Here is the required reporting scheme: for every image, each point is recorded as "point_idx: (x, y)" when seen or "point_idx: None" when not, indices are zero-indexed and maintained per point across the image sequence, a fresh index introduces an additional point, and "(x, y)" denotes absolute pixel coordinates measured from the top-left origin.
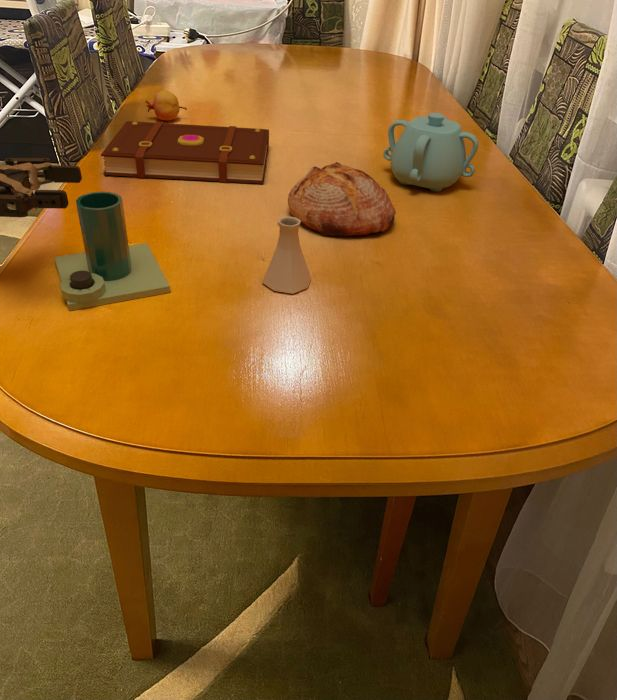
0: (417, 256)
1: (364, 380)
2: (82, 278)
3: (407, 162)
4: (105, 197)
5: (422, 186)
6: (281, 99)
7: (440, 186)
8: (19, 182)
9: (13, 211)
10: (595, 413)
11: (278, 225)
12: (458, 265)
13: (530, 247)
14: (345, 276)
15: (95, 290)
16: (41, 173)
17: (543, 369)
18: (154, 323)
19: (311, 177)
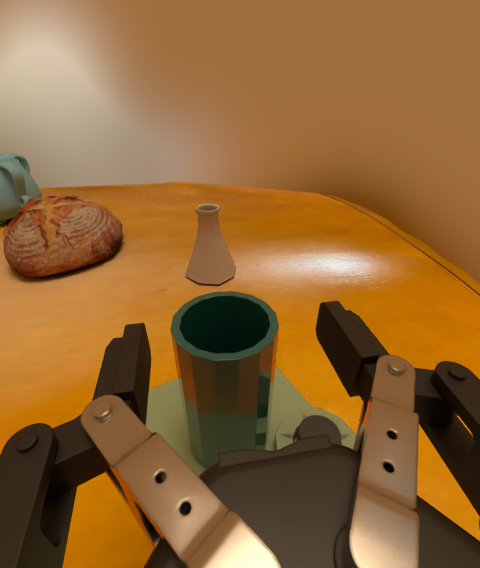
0: (159, 222)
1: (334, 239)
2: (328, 426)
3: (6, 196)
4: (181, 331)
5: None
6: None
7: None
8: (375, 400)
9: (454, 440)
10: (313, 194)
11: (212, 214)
12: (174, 211)
13: (148, 193)
14: None
15: (329, 412)
16: (48, 511)
17: (286, 200)
18: None
19: (41, 221)
